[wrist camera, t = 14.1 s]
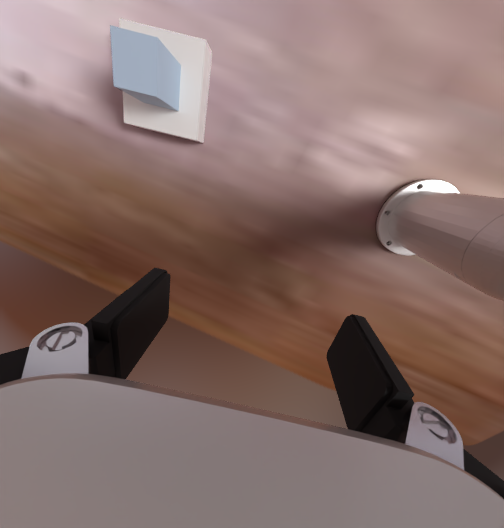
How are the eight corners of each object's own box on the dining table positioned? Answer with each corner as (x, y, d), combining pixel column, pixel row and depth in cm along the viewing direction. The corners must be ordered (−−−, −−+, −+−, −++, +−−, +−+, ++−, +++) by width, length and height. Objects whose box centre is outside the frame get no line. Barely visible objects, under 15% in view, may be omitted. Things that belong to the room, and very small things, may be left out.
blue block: (181, 65, 26) (157, 37, 21) (178, 111, 28) (156, 96, 23) (143, 55, 26) (110, 25, 21) (143, 102, 28) (113, 86, 23)
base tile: (212, 52, 28) (205, 39, 25) (203, 143, 32) (197, 140, 30) (134, 33, 28) (119, 17, 25) (136, 126, 32) (123, 122, 29)
